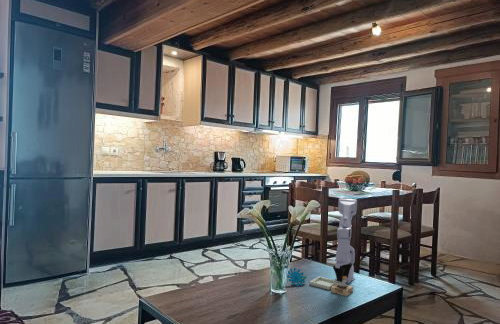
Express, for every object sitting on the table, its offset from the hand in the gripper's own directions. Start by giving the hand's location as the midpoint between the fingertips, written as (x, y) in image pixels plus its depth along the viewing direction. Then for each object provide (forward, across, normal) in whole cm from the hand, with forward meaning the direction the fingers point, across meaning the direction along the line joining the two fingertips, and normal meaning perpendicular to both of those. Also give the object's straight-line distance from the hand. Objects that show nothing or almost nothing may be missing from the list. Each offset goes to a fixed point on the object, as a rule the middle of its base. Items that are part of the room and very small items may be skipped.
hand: (342, 279), depth 173 cm
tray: (+6, -3, -11) cm, 13 cm away
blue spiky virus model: (+6, +6, -22) cm, 24 cm away
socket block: (+6, 0, 0) cm, 6 cm away
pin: (+6, 0, 0) cm, 6 cm away
